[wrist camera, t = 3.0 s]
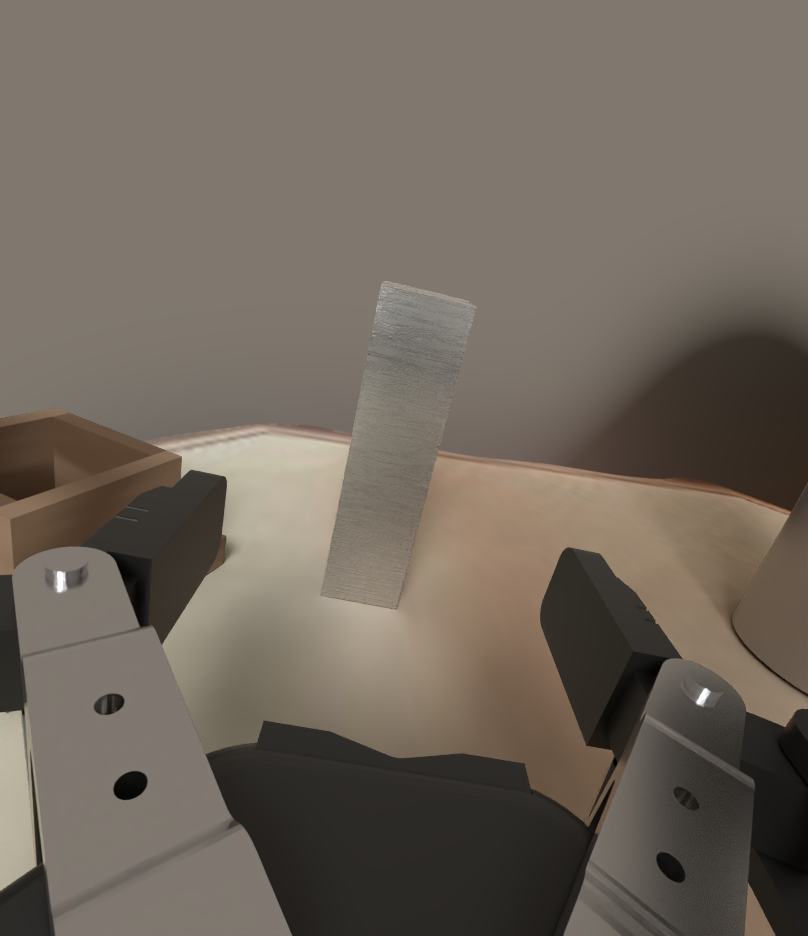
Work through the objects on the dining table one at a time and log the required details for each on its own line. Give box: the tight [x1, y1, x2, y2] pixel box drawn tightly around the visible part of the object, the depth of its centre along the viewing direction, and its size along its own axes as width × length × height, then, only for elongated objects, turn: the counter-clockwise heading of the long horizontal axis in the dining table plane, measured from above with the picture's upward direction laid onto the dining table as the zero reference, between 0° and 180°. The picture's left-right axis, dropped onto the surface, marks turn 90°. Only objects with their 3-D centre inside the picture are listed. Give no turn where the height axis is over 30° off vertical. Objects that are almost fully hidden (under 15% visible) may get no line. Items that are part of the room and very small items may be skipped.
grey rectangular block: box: [321, 281, 476, 609], centre depth 23 cm, size 4×4×14 cm
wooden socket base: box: [0, 408, 226, 713], centre depth 20 cm, size 10×10×6 cm
